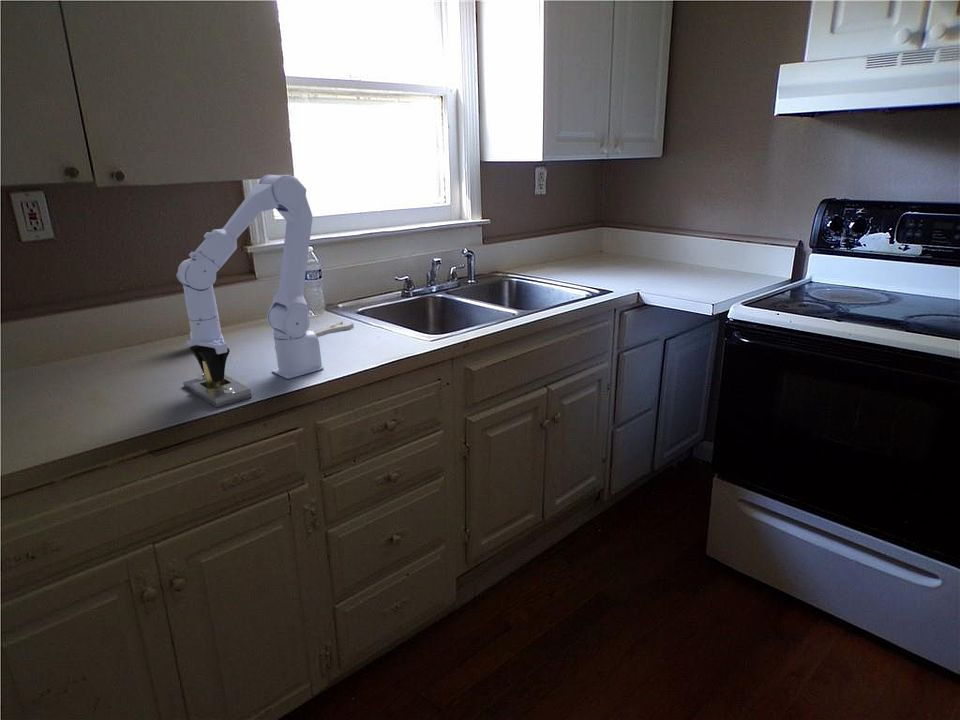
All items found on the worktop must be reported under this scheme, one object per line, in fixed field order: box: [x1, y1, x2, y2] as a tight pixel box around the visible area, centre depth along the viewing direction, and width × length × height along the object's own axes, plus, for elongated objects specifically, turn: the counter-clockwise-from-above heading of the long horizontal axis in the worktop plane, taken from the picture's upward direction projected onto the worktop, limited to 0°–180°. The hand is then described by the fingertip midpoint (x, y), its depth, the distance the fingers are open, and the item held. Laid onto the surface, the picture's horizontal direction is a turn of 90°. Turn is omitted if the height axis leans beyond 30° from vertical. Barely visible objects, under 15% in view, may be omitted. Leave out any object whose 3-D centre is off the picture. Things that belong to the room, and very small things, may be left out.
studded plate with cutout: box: [182, 371, 252, 408], centre depth 135 cm, size 7×18×2 cm, turn 44°
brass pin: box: [202, 359, 225, 389], centre depth 134 cm, size 4×4×7 cm
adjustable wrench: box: [312, 321, 354, 338], centre depth 175 cm, size 25×6×2 cm, turn 138°
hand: (214, 378), depth 134 cm, fingers closed on brass pin, 4 cm apart
